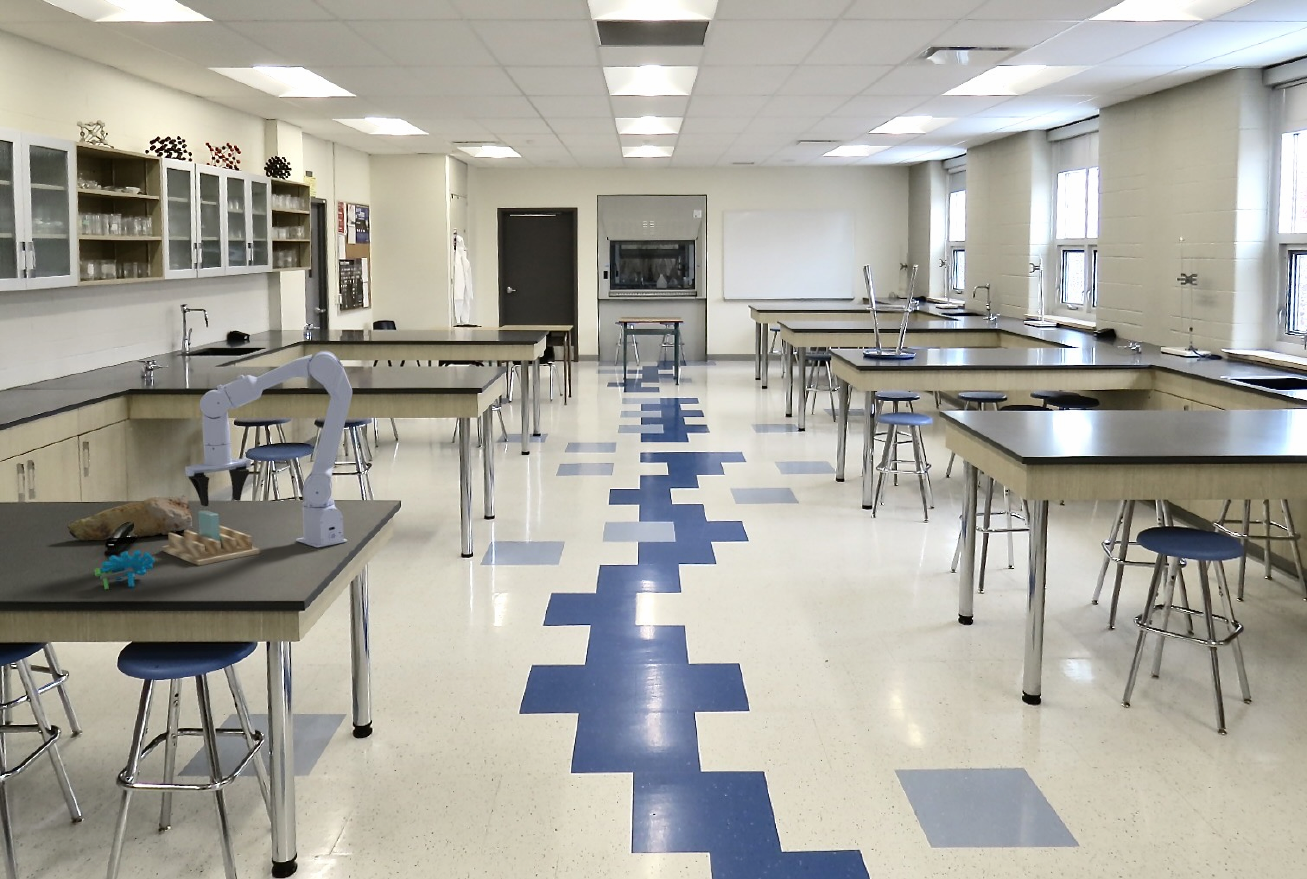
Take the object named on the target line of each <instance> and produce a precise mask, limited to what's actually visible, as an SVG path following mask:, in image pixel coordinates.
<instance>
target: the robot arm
mask: <svg viewBox="0 0 1307 879" xmlns="http://www.w3.org/2000/svg"><path fill="white" fill-rule="evenodd" d="M310 376H312V377H313V379H315V380H316V381H317V382H318V383H320V384H321V385H322V386H323V387H324V389H325V390H326V392H327V393H328V395H329V396H330V400H329V403H328V408H327V410H326V411H327V412H326V416H325V419H324V421H323V422H324V423H323V427H322V429H321V430H322V431H321V434H320V438H319V442H318V446H317V450H316V454H315V457H314V462H313V466H312V468H311V471H310V473H309V474H308V475H307V476H306V478H305V480H304V482H303V489H302V498H303V499H304V500H303V501H302V503H301V505H302V506H301V509H302V510H301V512H302V530H303V531H302V532H303V537H300V538H296V539H295V541H296V542H299V543H302V544H305V545H308V546H311V547H314V548H323V547H327V546H332V545H337V544H342V543H347V542H348V539H346V538H344V516H343V514H342V512H341V511H340V510H339V509H338V508H337V507H336V505H335V499H334V498H333V497H331V496H332V488H333V482H332V475H333V471H334V467H335V462H336V459H337V454H338V450H339V447H340V443H341V440H342V437H343V432H344V428H345V423H346V421H347V417H348V413H349V409H350V405H351V401H352V397H353V388H352V386H351V383H350V381H349V377H348V376H347V373H346V370H345V368H344V366H343V364H342V362H341V361H340V360H339V359H338V357H337V356H336V355H335V354H334V353H333V352H331V351H328V350H321V351H318V352H316V353H315V354H314V355H313V354H308V355H305V356H302V357H299V358H296V359H293V360H291V361H288V362H287V363H285V364H283V365H281V366H278V367H276V368H274V369H272V370H270V371H268V372H266V373H264V374H261V375H260V376H254V375H250V374H246V375H243V374H239V375H238V376H236V380H233V381H231V382H229V383H226V384H224V385H222V384H219V385H217V386H216V388H217V389H211V390H209V391H207V392H205V394H203V396H202V397H201V398H200V401H199V409H200V412H201V413H202V417H201V419H202V424H201V427H202V441H203V454H204V456H203V458H204V462H203V463H202V462H201V463H199V464H193V465H189V466H185V468H184V469H185V476H188V480H190V482H191V484H192V485H193V487H194V489H195V491H196V493H197V495H198V498H199V501H200V505H201V506H203V507H209V504H210V503H209V501H210V500H209V482H210V477H208V476H207V475H206V474H210V473H217V472H225V471H228V472H229V475H230V481H231V491H232V499H233V501H237V502H238V501H239V502H241V498H242V492H243V488H244V486H245V482H246V480H247V478H248V476H249V475H250V468H251V467H252V461H251V460H252V459H250V458H235V459H233V458H232V442H231V426H230V422H229V411H228V410H235V409H238V408H240V407H242V406H244V405H247V404H249V403H251V402H254V401H256V400H258V399H260V398H261V396H262V393H263V391H264V390H266V389H269V388H271V387H274V386H277V385H279V384H281V383H283V382H286V381H289V380H291V379H294V378H304V379H309V378H310Z"/></svg>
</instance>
